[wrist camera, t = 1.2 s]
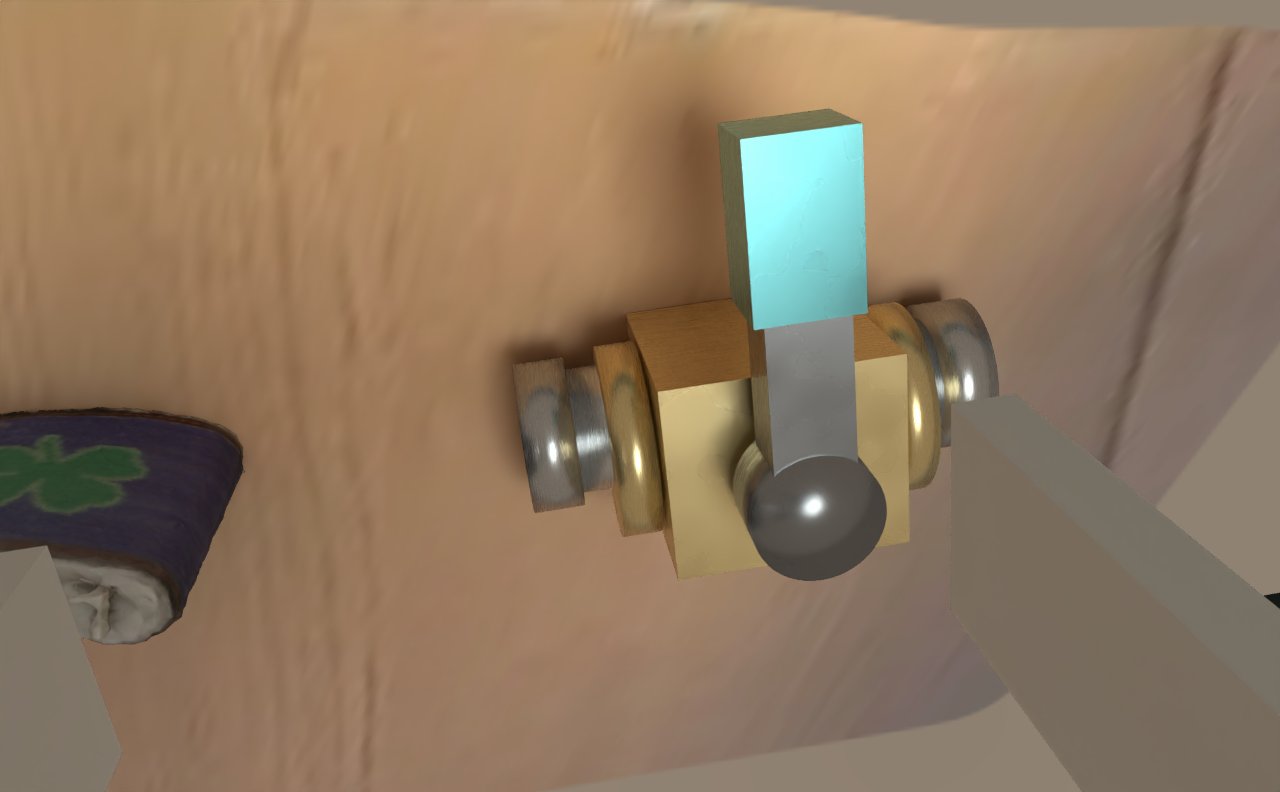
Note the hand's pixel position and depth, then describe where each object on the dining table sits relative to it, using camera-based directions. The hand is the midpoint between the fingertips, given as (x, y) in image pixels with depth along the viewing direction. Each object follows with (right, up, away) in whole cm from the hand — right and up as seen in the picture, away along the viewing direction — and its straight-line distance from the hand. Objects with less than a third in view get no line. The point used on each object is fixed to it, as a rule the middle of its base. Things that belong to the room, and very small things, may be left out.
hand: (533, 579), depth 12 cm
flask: (-16, 0, +23) cm, 29 cm away
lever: (+5, +4, +17) cm, 18 cm away
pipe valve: (+4, +3, +25) cm, 26 cm away
